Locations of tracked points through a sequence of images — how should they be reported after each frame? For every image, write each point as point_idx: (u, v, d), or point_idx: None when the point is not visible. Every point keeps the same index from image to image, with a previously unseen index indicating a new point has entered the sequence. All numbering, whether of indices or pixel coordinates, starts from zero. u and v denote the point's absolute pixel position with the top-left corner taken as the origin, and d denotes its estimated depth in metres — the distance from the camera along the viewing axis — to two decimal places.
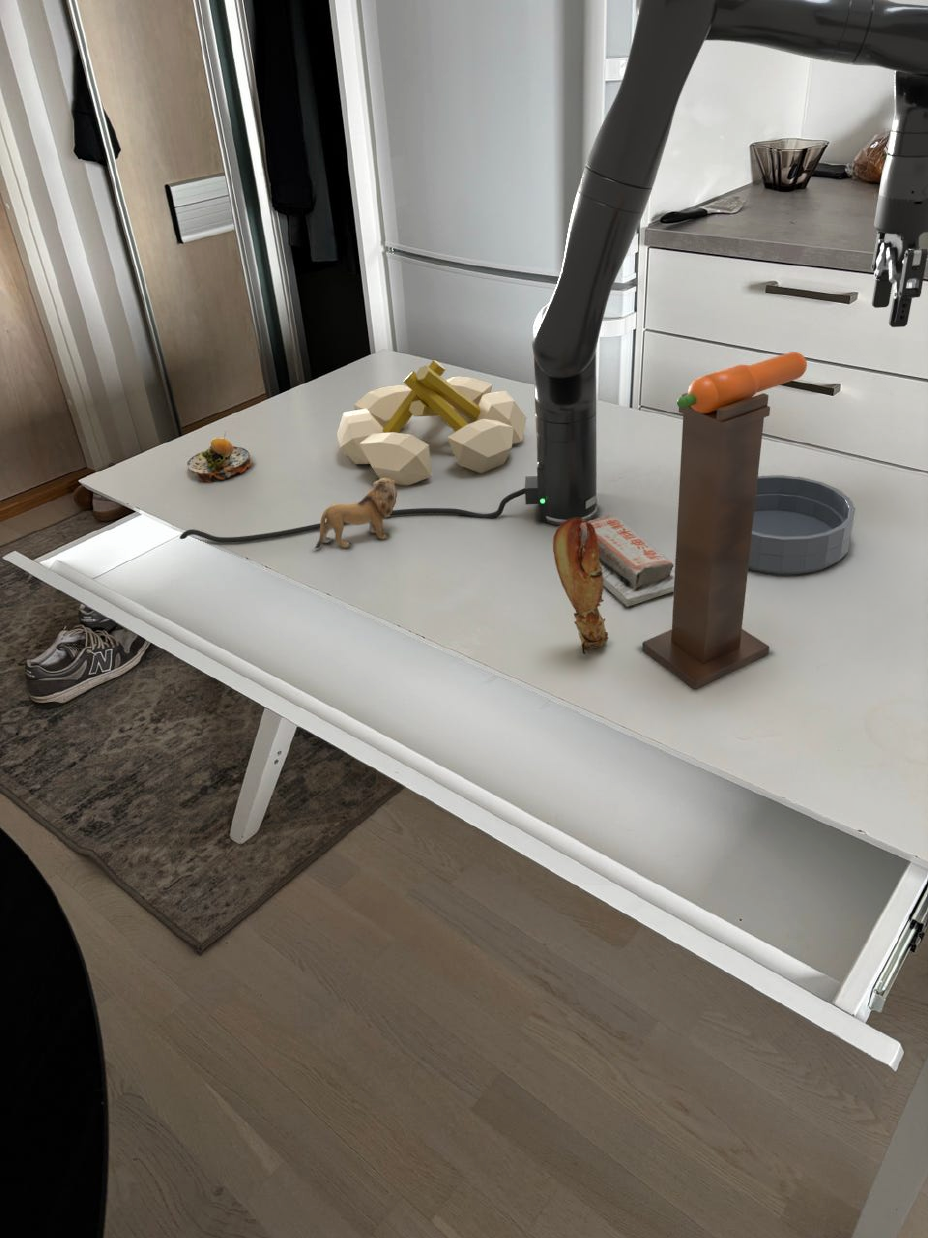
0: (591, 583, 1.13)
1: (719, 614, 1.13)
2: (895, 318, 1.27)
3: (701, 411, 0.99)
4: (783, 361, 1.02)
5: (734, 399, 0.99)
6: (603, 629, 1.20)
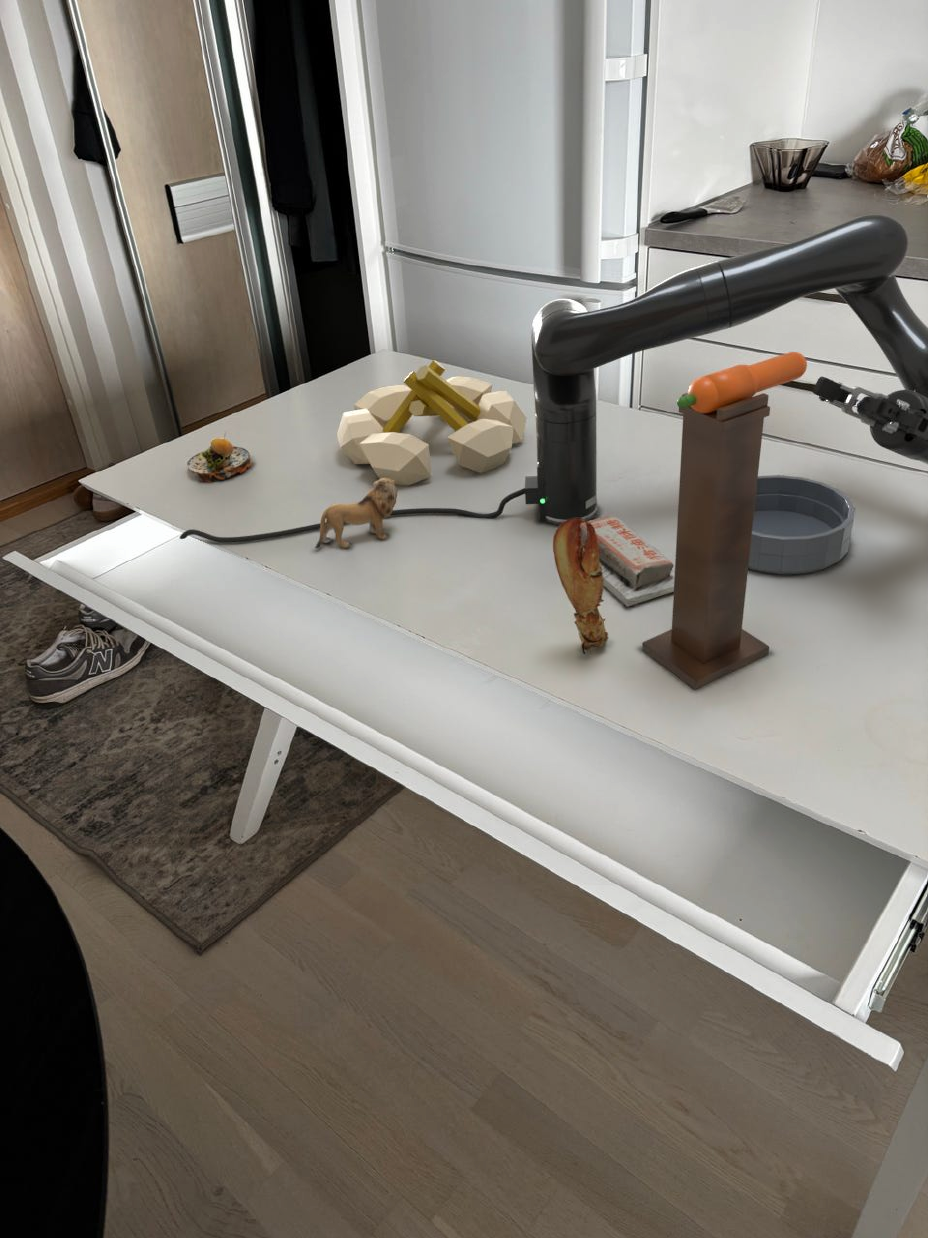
0: (591, 583, 1.13)
1: (719, 614, 1.13)
2: (890, 404, 1.08)
3: (701, 411, 0.99)
4: (783, 361, 1.02)
5: (734, 399, 0.99)
6: (603, 629, 1.20)
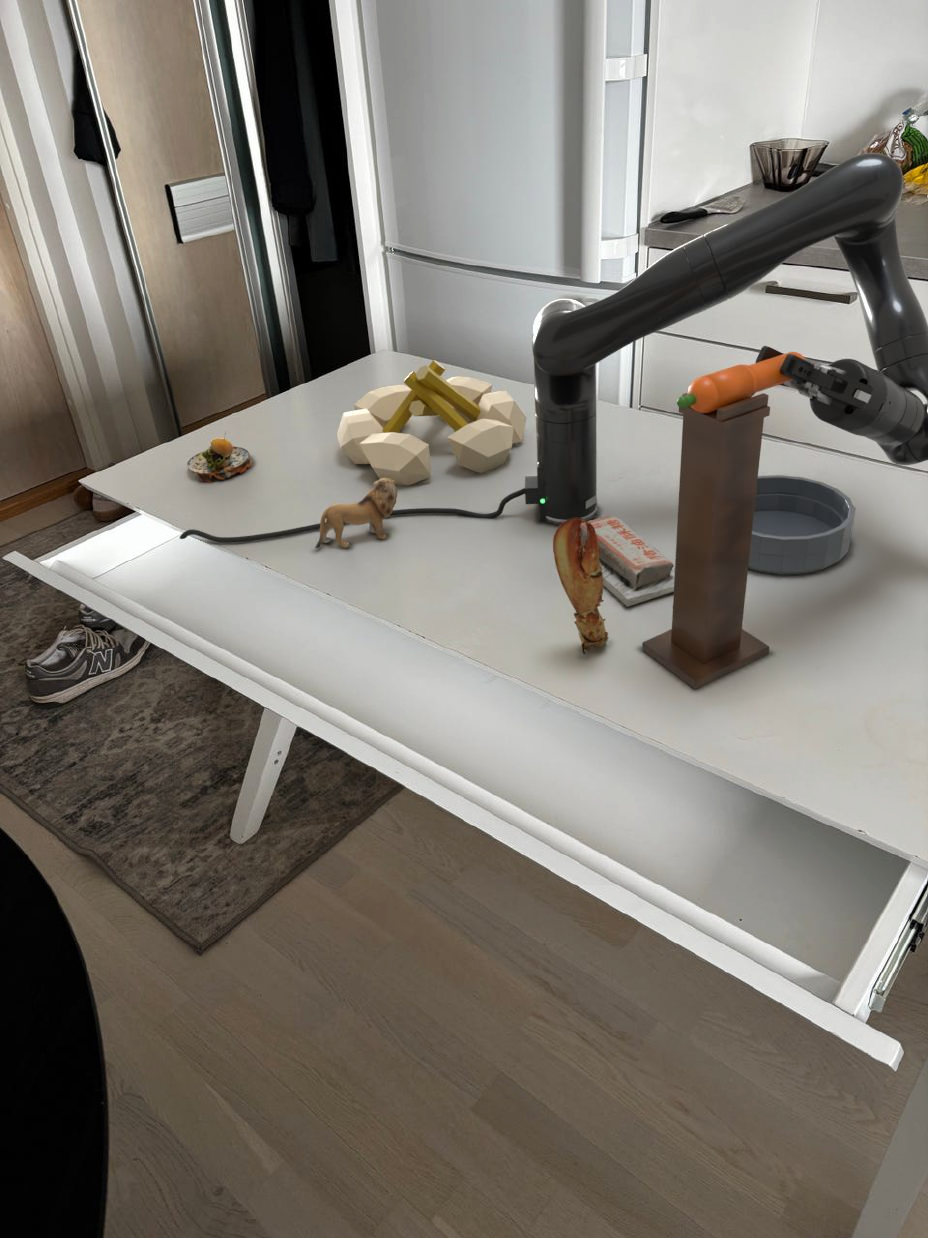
0: (591, 583, 1.13)
1: (719, 614, 1.13)
2: (800, 362, 1.01)
3: (701, 411, 0.99)
4: (782, 361, 1.02)
5: (734, 398, 0.99)
6: (603, 629, 1.20)
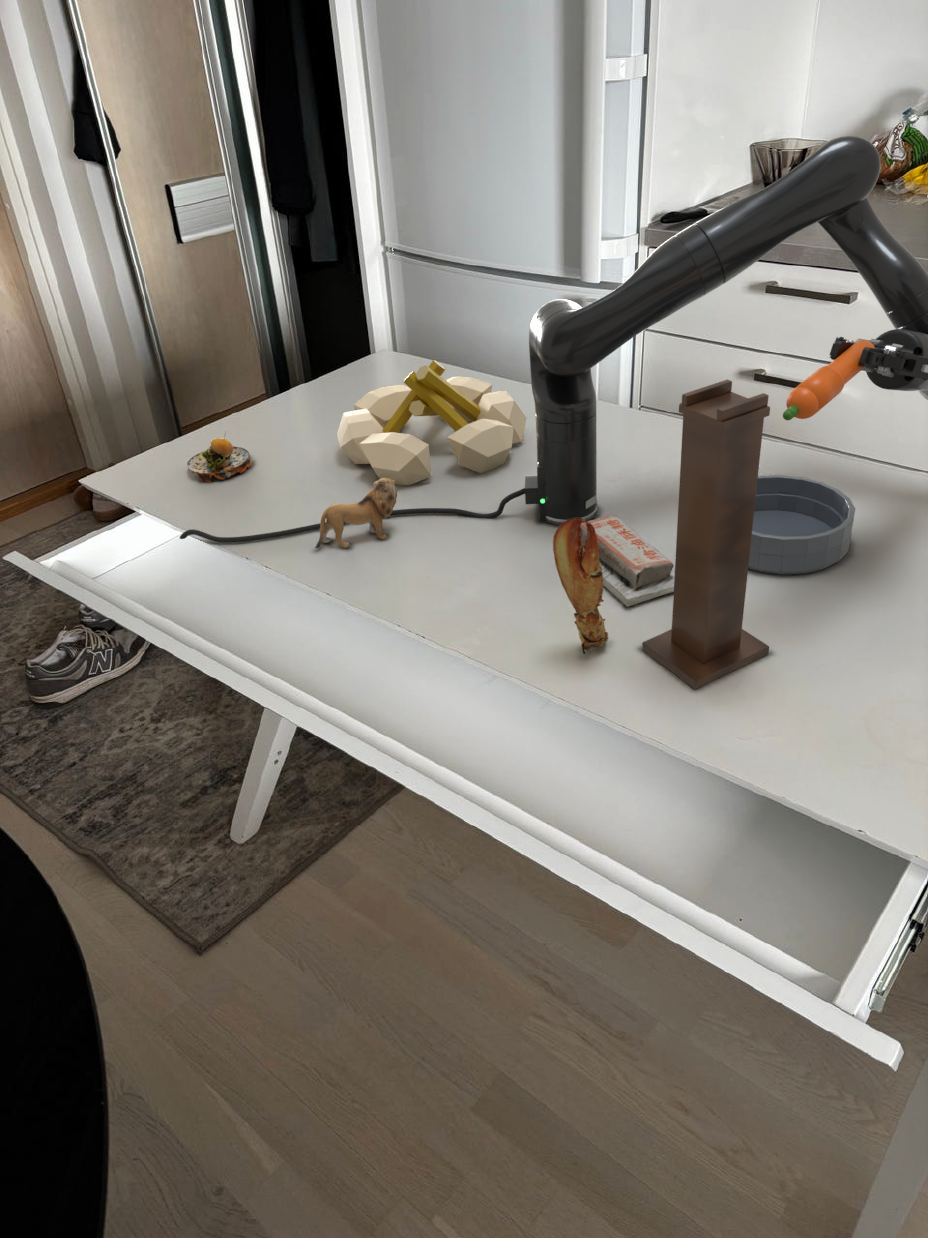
0: (591, 583, 1.13)
1: (719, 614, 1.13)
2: (875, 352, 1.11)
3: (803, 418, 1.09)
4: (858, 353, 1.12)
5: (829, 400, 1.09)
6: (603, 629, 1.20)
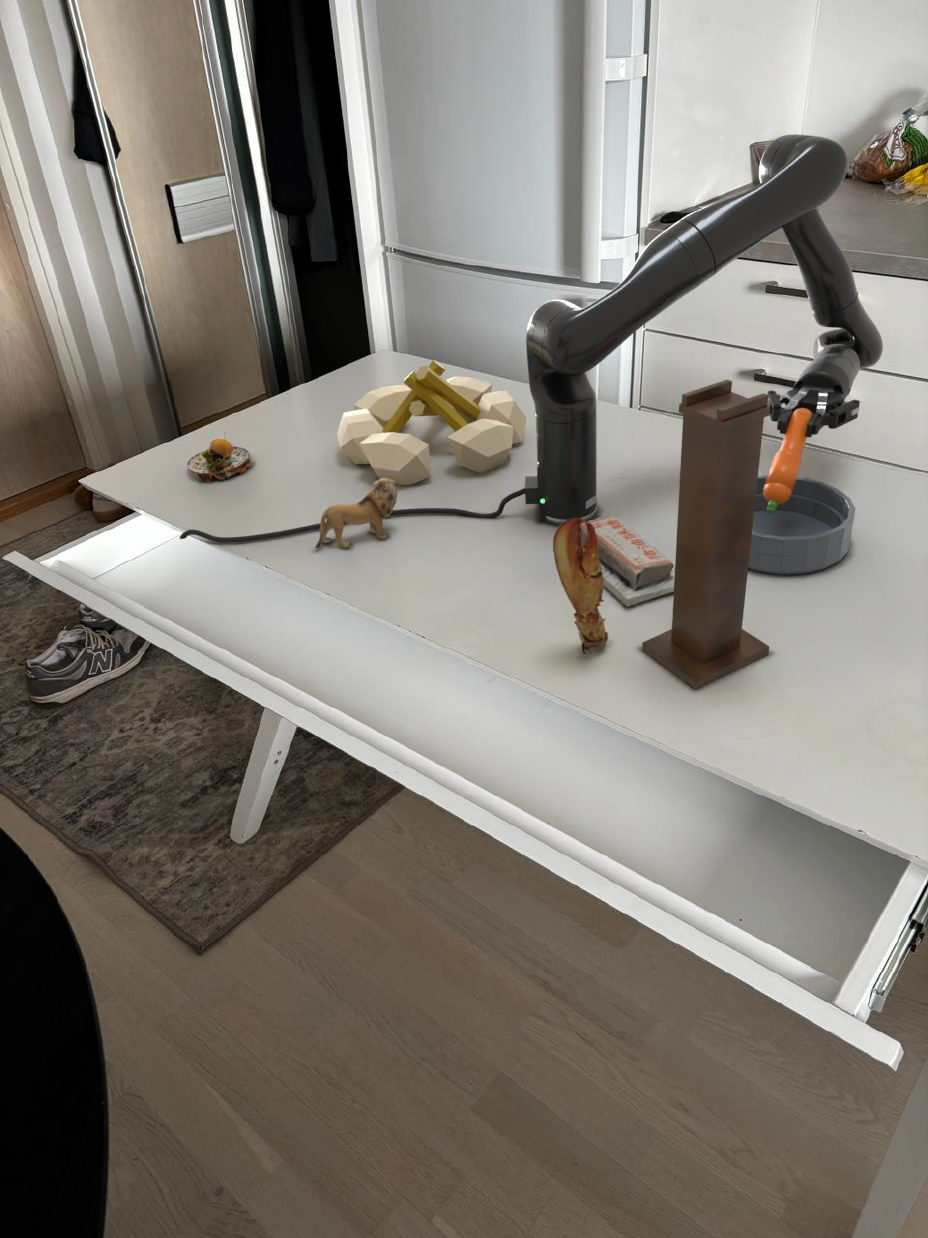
0: (591, 583, 1.13)
1: (719, 614, 1.13)
2: (817, 423, 1.32)
3: None
4: (802, 427, 1.33)
5: None
6: (603, 629, 1.20)
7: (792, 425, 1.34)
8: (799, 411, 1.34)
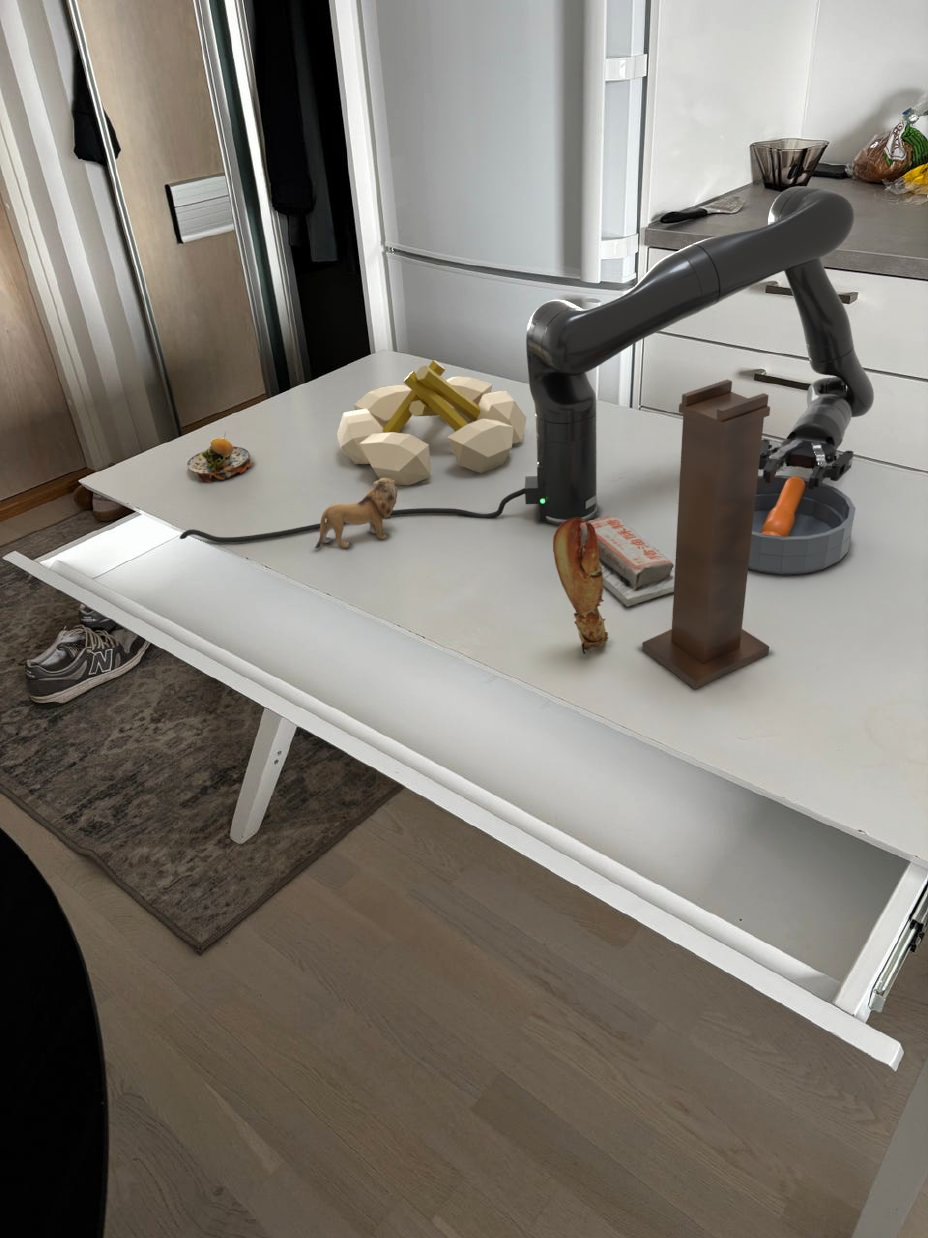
0: (591, 583, 1.13)
1: (719, 614, 1.13)
2: (819, 476, 1.37)
3: None
4: (796, 490, 1.40)
5: (788, 535, 1.37)
6: (603, 629, 1.20)
7: (786, 488, 1.41)
8: (793, 478, 1.42)
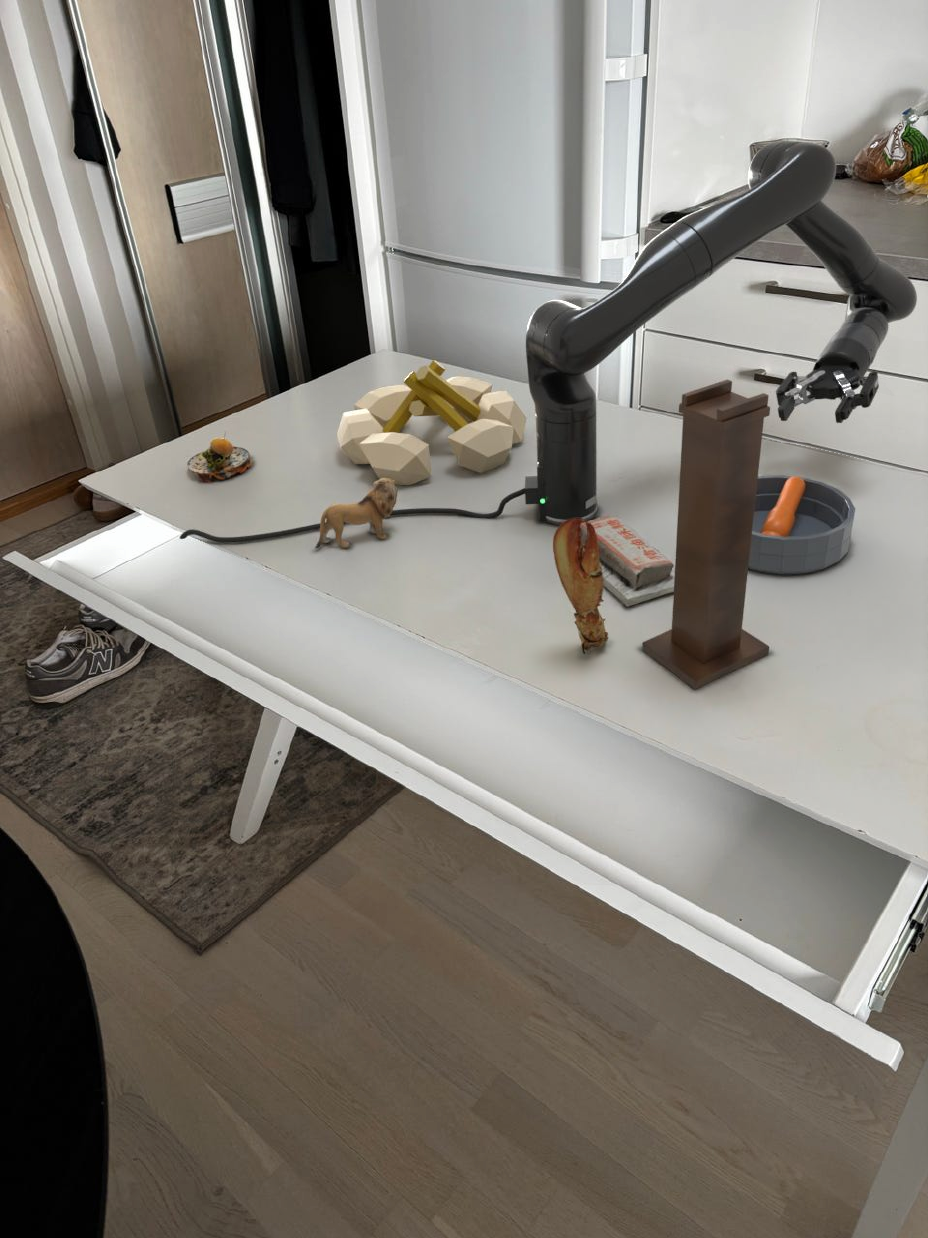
0: (591, 583, 1.13)
1: (719, 614, 1.13)
2: (845, 409, 1.40)
3: None
4: (796, 490, 1.40)
5: (788, 535, 1.37)
6: (603, 629, 1.20)
7: (786, 488, 1.41)
8: (793, 478, 1.42)
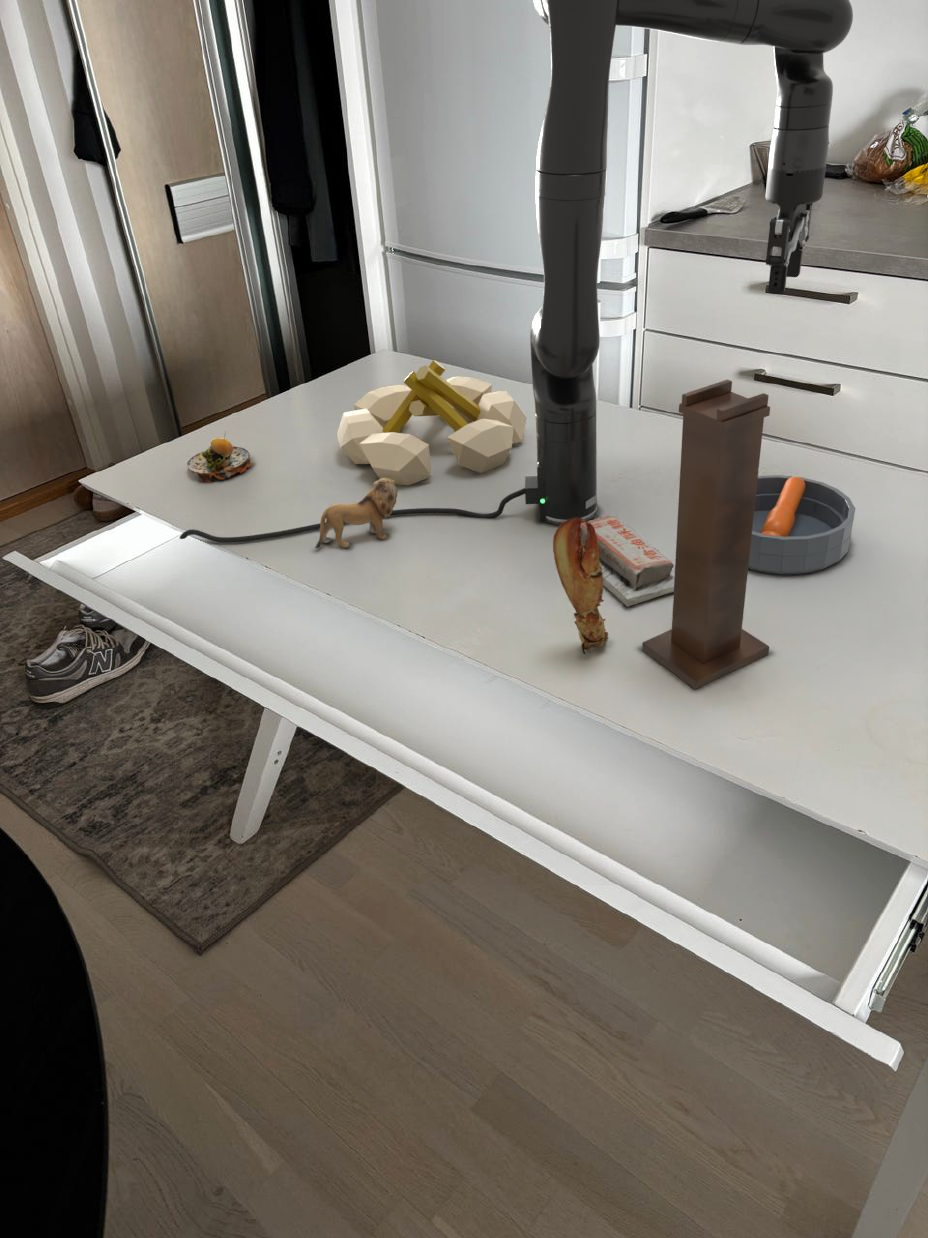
0: (591, 583, 1.13)
1: (719, 614, 1.13)
2: None
3: None
4: (796, 490, 1.40)
5: (788, 535, 1.37)
6: (603, 629, 1.20)
7: (786, 488, 1.41)
8: (793, 478, 1.42)
